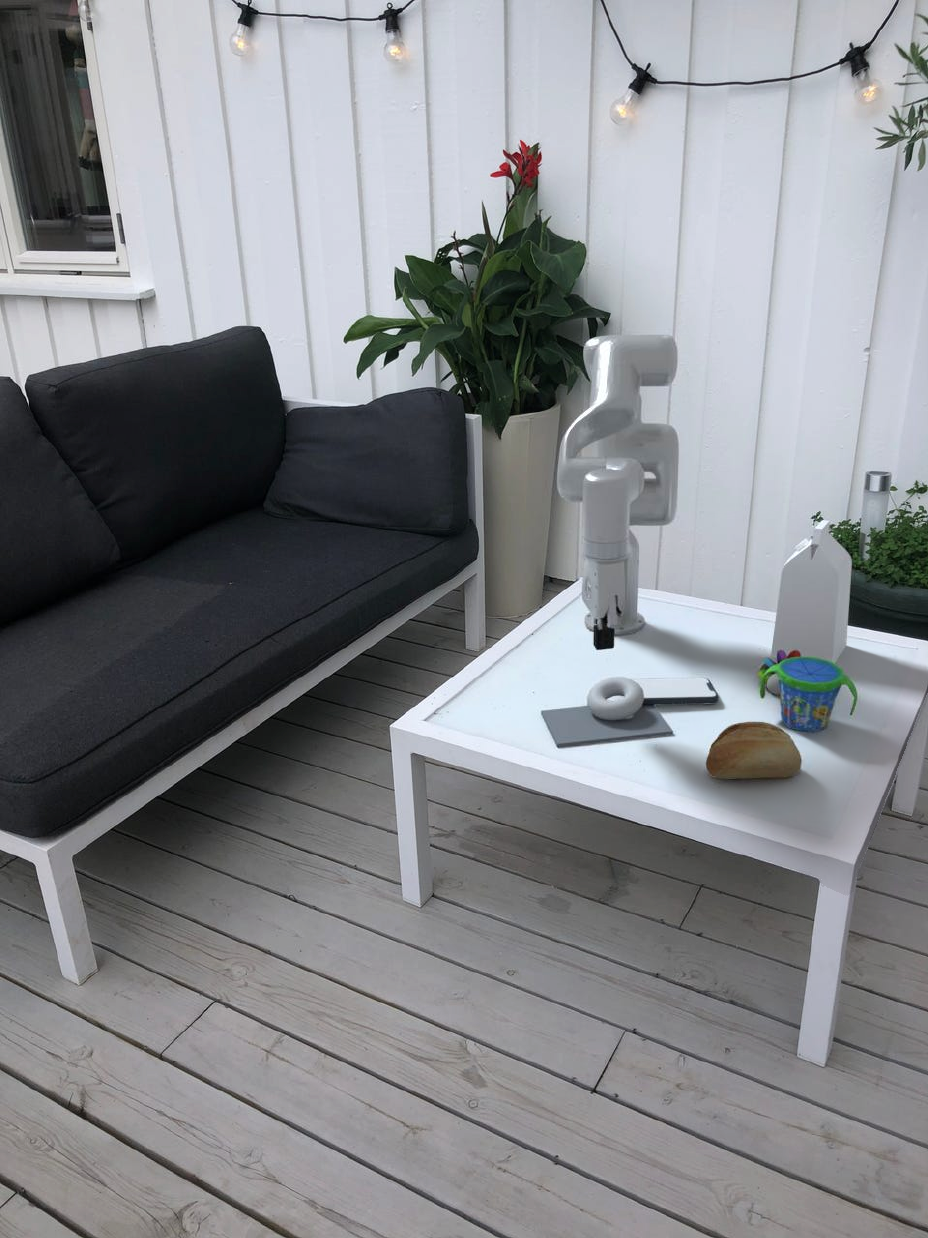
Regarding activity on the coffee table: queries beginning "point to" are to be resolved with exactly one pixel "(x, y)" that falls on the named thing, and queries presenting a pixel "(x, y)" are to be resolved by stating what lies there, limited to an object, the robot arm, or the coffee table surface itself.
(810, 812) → the coffee table surface
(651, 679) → the smartphone
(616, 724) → the mat
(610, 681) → the donut
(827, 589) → the milk
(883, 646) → the coffee table surface
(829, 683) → the snack cup
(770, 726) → the bread roll
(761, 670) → the multicolored rounded-lobe toy
